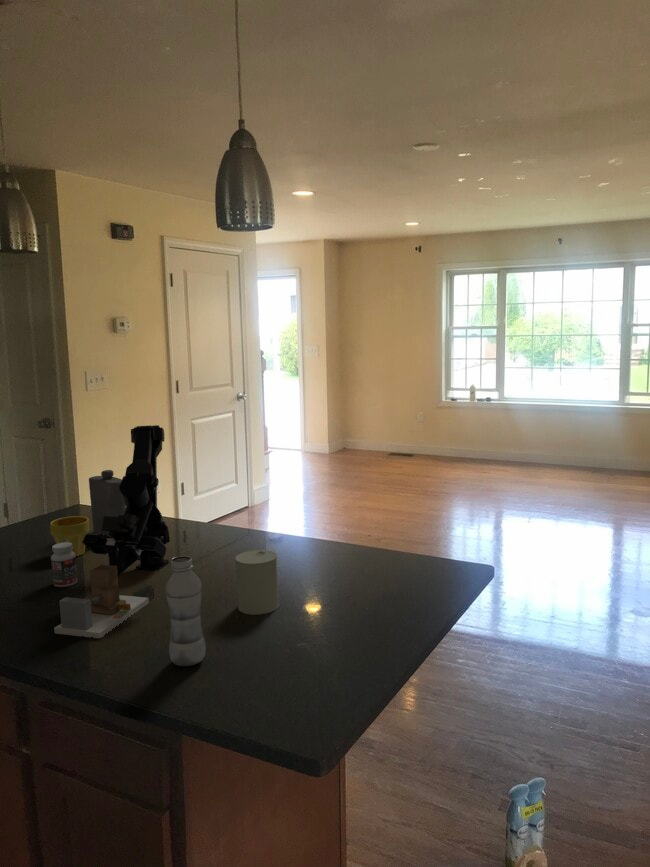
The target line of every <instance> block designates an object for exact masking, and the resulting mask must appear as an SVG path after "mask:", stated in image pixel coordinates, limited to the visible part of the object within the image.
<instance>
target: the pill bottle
mask: <svg viewBox="0 0 650 867" xmlns="http://www.w3.org/2000/svg"><path fill="white" fill-rule="evenodd" d="M72 549H73V546H72V543H69V542H64V543H59V544H56V543H55V544H54V545H52V547H51V551H52V553H53V554H52V555H51V556H50V563H51V574H52V585H54V587H57V588H66V587H71V586H73V585H75V584H76V583H77V582H78V570H77V559H76V558H77V557H75V553H74V552H72Z"/></svg>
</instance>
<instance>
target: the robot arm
mask: <svg viewBox="0 0 650 867" xmlns="http://www.w3.org/2000/svg"><path fill="white" fill-rule="evenodd" d="M130 442H131V444H134V445H133V456H132V462H131V463H129V465H128V466H127V467H126V468H125V474H124V476H122V478H121V479H122V481H121V484H120V486H119V488H120V492H121V495H122V498H123V501H124V504H125V505H126V508H125V511H124V513H123V515H119V516H118V517H110V516H104V517H103V522H102V528H101V530H102V531H104V530H105V531H109V535H110V536H111V537H114V539H112V538H110V537H107V536H105V535H103V534H102V533H94V532H87V534H86V535H85V537H84V539H83V542H82V543H83V544H84V545H85V548H86V547H87V549H88V550H90V551H91V552H92V553H93V554H96V555H108V563H109V564H108V565H113V566H117V574H118V578H119V577H120V576H121V575H122V574H123V573H124V572H125V571H126V570H127V569H128V568H129V567H130V566H132V565H133V564H134V563H136V561H139V564H137V565H136V566H135V569H140V570H154V571H158V570H159V569H161V568H163V567H164V566H165V565H167V564H169V562H170V560H169V559H165V554H166V552H167V547H166V545H167V543H170V542H171V538H170V530H169V527H168V525H167V523H166V521H164V516H163V515H162V512H161V511H160V510H159V508H158V487H159V486H158V485H159V482H160V481H159V478H158V475H157V472H158V469H157V468H158V466H157V463H158V462H157V458H158V456H159V455H160V453H161V452H162V451H163V443H165V429H164V428H163V427H160V425H159V424H158V425H157V424H156V425H151V424H150V425H137V426H135V427H133V428H131V429H130Z"/></svg>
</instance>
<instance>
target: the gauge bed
mask: <svg viewBox="0 0 650 867" xmlns="http://www.w3.org/2000/svg"><path fill="white" fill-rule="evenodd" d="M119 597H120V600H126V604H130V608H131V609H130V610H129V611H128V610H119V611H117V612H116V613H114V614H104V613H94V612H91V604H92V603H91V599H88V598H79V597H78V598H77V597H66V596H65V597H63V598H62V599H60V600H59V611H60V612H59V613H60V614H59V615H60V622H61V623H60V624H58V625H57V626H54V628H53V629H54V634H57V635H65V636H66V635H67V636H73V637H75V636H76V637H82V636H83V637H85V638H91V637H93V639H100V638H101V637H102V638H104V637H105V636H106V635H107V634H109V633H110V632H111V631H113V630H114V629H115V627H116V626H117V627H118V626H120V625H121V624H123V623H124V622H125V621H126V620H128V619H129V618H130V617H132V616H133V615H135V614H136V613H138V612H139V611H140V610H142V609H143V608H144V607H145V606H147V605H148V604H149V603H150V598H149V597H144V596H143V597H141V596H133V595H120V594H119ZM134 613H135V614H134ZM131 615H132V616H131ZM128 617H129V618H128ZM127 618H128V619H127ZM124 620H125V621H124ZM123 621H124V622H123ZM120 623H121V624H120ZM119 624H120V625H119ZM113 628H114V629H113ZM112 629H113V630H112ZM109 631H110V632H109ZM108 632H109V633H108ZM106 633H107V634H106ZM105 634H106V635H105ZM104 635H105V636H104ZM102 638H101V639H102Z"/></svg>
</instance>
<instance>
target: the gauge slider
mask: <svg viewBox="0 0 650 867" xmlns="http://www.w3.org/2000/svg"><path fill="white" fill-rule="evenodd" d="M89 574H90V575H89V576H90V577H89V578H90V584H91V588H90V589H91V596H92V598H91V599H90V603H91V612H94V613H104V614H114V613H116V612H117V611H119V610H128V611H129V610H130V609H131V608H130V604H126V600H120V597H119V595H120V588H119V577H118V574H117V566H113V565H109V564H99V565H98V566H96V567H94V568H93V569H91V570H90V571H89Z"/></svg>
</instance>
